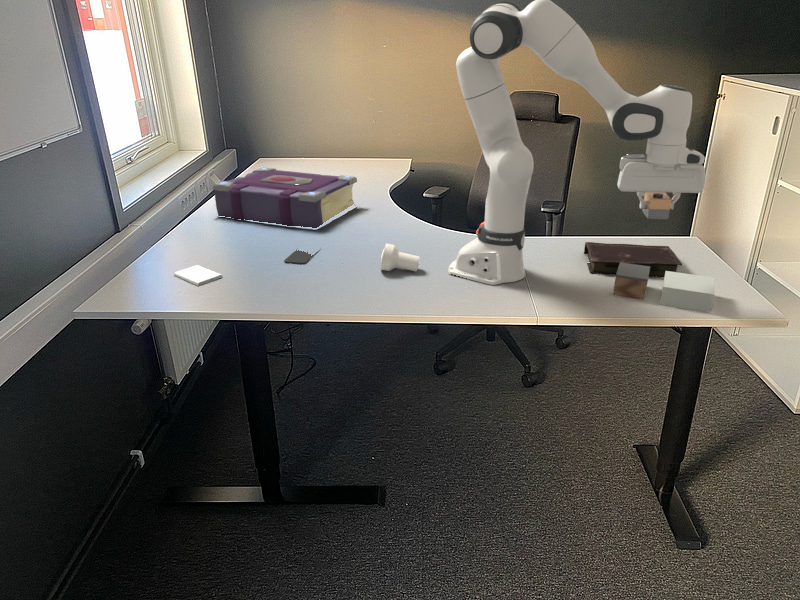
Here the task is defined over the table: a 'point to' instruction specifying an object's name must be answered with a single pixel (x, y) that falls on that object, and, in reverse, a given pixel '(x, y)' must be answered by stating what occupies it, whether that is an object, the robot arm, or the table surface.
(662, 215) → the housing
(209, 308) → the table surface
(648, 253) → the diary
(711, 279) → the grey stand
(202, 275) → the external hard drive
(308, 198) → the book
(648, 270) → the walnut stand
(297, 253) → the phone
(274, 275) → the table surface
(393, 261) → the spotlight
